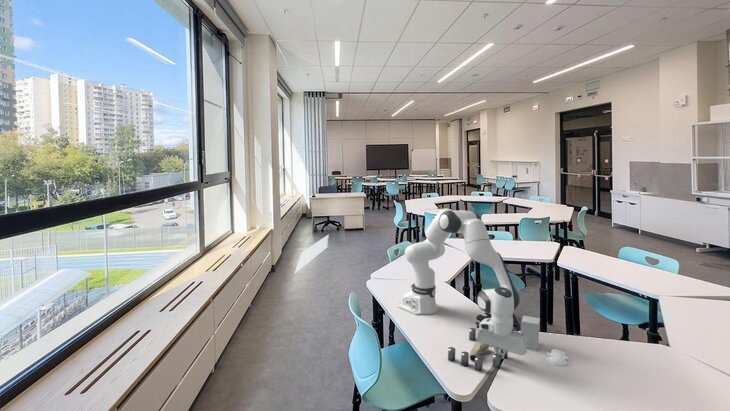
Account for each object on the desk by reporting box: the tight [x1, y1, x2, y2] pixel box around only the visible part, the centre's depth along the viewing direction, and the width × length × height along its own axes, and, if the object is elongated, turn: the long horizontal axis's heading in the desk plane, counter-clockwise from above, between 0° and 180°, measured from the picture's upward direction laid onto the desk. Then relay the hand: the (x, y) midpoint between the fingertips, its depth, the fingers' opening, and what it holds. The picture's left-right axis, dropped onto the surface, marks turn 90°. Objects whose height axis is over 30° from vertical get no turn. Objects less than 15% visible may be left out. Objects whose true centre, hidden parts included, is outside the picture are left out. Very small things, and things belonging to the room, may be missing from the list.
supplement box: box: [520, 315, 541, 351], centre depth 174 cm, size 7×7×13 cm
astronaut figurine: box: [545, 348, 571, 367], centre depth 164 cm, size 9×12×3 cm
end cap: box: [475, 312, 491, 330], centre depth 192 cm, size 10×7×7 cm
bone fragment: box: [469, 341, 490, 361], centre depth 168 cm, size 14×6×5 cm, turn 140°
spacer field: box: [447, 327, 509, 372], centre depth 167 cm, size 20×25×5 cm
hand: (500, 357), depth 162 cm, fingers closed
